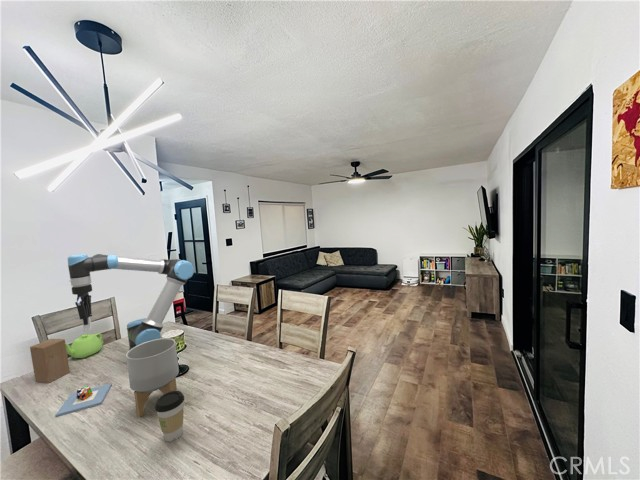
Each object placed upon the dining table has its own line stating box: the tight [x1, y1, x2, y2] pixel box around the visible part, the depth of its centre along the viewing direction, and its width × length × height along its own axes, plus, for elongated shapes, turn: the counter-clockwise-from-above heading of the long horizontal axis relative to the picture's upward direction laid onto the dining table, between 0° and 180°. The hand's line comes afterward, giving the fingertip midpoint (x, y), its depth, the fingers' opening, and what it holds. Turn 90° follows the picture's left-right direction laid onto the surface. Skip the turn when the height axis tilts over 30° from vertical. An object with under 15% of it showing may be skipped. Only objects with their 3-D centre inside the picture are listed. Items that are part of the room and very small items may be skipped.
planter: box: [125, 337, 180, 418], centre depth 119 cm, size 19×19×26 cm
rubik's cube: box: [76, 386, 93, 401], centre depth 124 cm, size 4×5×5 cm
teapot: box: [65, 332, 104, 359], centre depth 169 cm, size 22×15×13 cm
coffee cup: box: [154, 390, 185, 442], centre depth 100 cm, size 10×10×15 cm
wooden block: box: [29, 338, 71, 384], centre depth 145 cm, size 10×10×20 cm
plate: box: [54, 382, 113, 418], centre depth 125 cm, size 16×16×1 cm
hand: (88, 330), depth 134 cm, fingers closed
